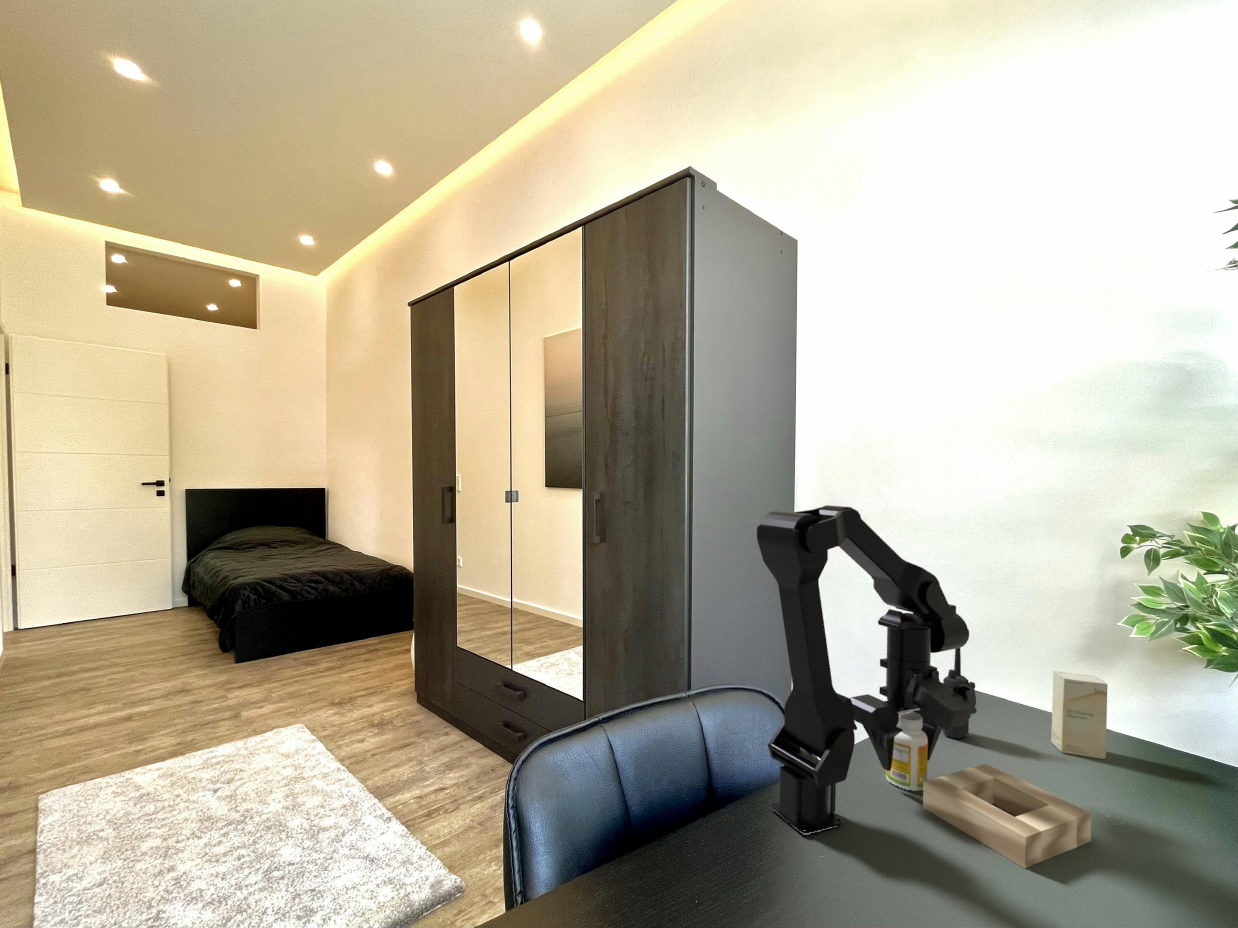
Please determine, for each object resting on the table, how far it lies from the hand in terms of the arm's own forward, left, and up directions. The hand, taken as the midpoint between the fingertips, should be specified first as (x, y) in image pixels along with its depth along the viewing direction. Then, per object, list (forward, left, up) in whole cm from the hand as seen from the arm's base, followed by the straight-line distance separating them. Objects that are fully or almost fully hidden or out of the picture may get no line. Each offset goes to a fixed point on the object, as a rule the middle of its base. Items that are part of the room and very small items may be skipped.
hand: (906, 764), depth 84 cm
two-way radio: (+22, +8, -3) cm, 24 cm away
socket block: (+3, -12, -2) cm, 13 cm away
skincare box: (+36, -3, -3) cm, 36 cm away
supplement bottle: (0, 0, -3) cm, 3 cm away
